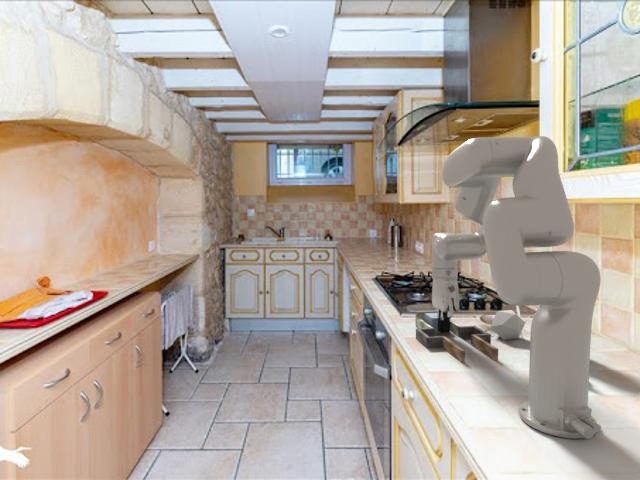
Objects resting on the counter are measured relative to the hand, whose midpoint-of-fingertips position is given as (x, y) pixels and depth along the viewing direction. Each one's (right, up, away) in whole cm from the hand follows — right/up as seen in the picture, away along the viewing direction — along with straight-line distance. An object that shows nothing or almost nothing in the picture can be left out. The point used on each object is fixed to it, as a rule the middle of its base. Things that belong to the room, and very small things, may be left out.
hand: (443, 331), depth 129 cm
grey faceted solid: (+18, -1, -3) cm, 19 cm away
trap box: (+1, -2, -6) cm, 6 cm away
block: (-1, -1, +6) cm, 6 cm away
